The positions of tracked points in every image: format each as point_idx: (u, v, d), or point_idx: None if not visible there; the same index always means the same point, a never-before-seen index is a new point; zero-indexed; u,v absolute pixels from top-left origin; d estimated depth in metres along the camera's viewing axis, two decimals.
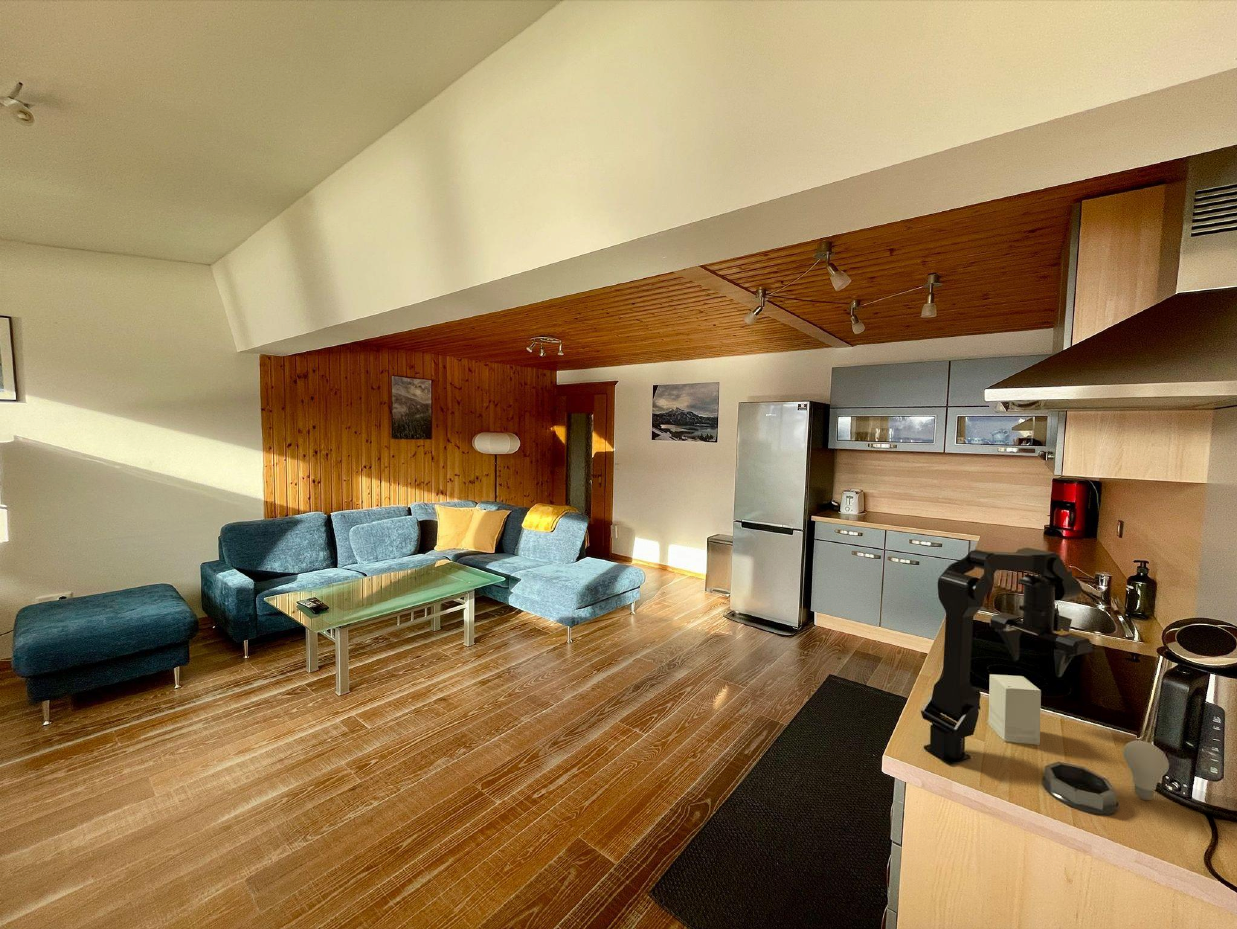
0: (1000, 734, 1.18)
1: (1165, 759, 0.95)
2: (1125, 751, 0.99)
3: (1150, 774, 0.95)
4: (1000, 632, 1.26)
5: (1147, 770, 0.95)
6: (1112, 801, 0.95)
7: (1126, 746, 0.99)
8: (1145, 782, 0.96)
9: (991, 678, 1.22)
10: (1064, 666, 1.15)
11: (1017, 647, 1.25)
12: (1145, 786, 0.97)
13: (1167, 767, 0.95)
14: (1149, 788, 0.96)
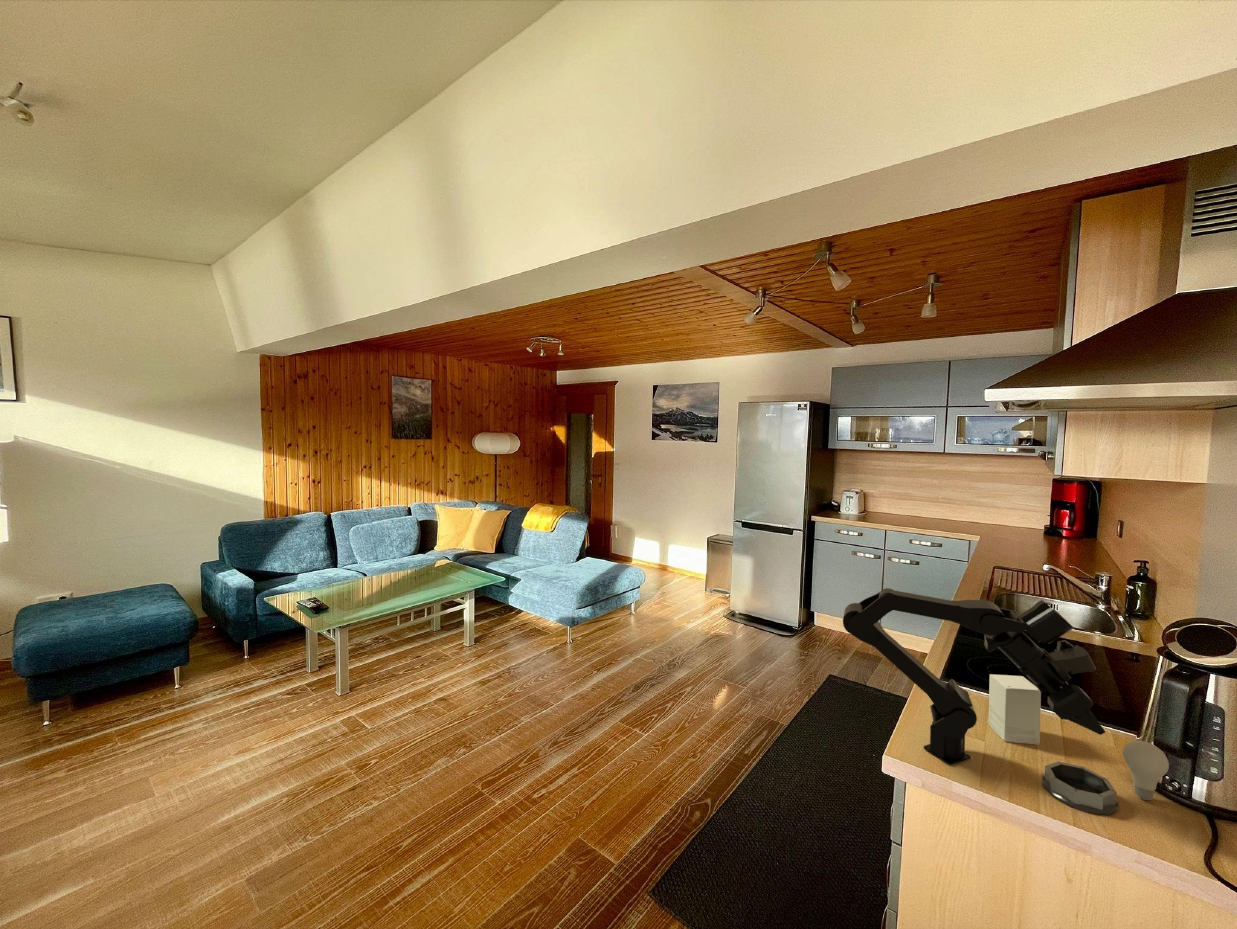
0: (1000, 734, 1.18)
1: (1165, 759, 0.95)
2: (1125, 751, 0.99)
3: (1150, 774, 0.95)
4: None
5: (1146, 770, 0.95)
6: (1112, 801, 0.95)
7: (1126, 746, 0.99)
8: (1145, 782, 0.96)
9: (991, 678, 1.22)
10: (1092, 723, 0.97)
11: None
12: (1145, 786, 0.97)
13: (1167, 767, 0.95)
14: (1149, 788, 0.96)
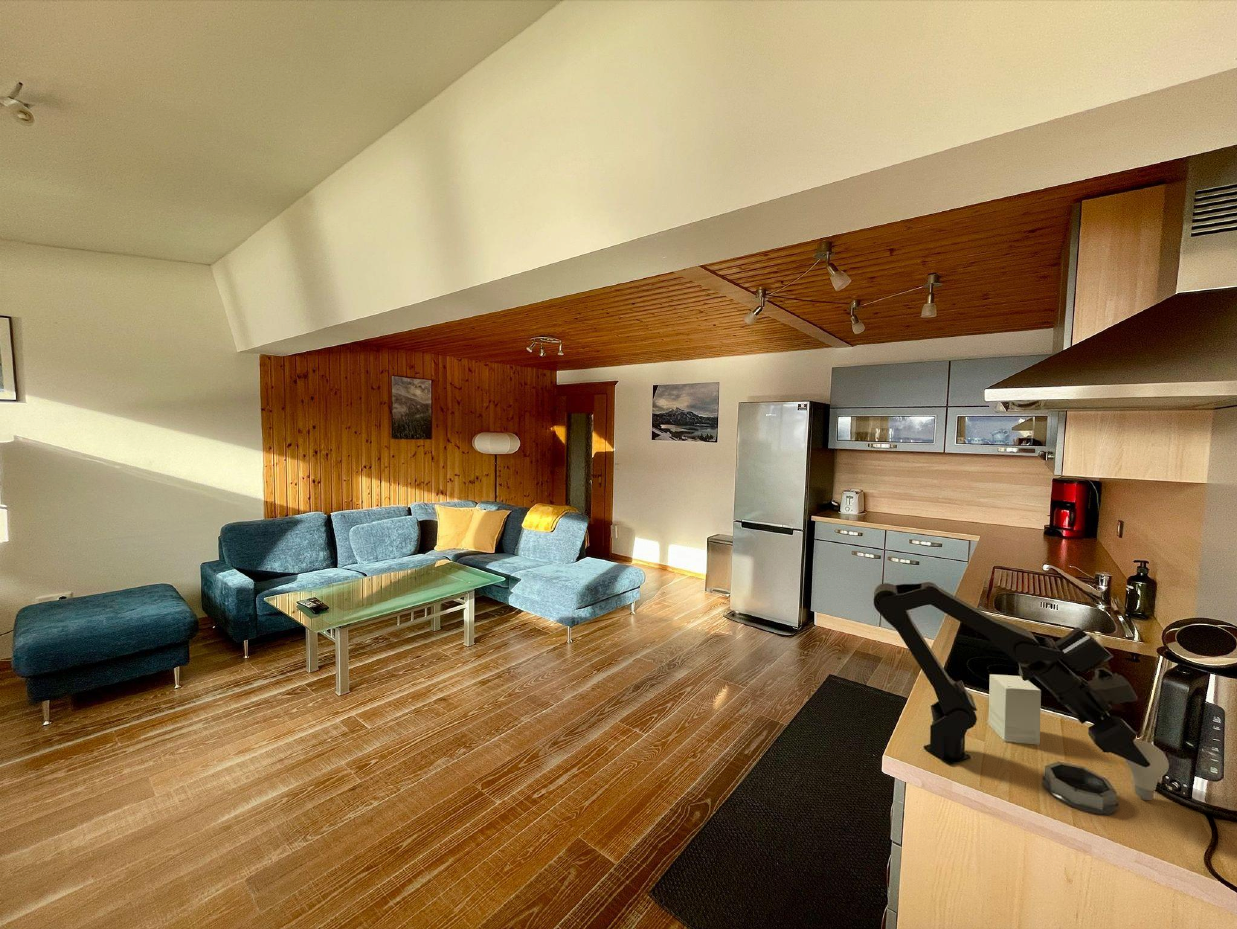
0: (1000, 734, 1.18)
1: (1165, 759, 0.95)
2: None
3: (1150, 774, 0.95)
4: None
5: (1146, 770, 0.95)
6: (1112, 801, 0.95)
7: None
8: (1145, 782, 0.96)
9: (991, 678, 1.22)
10: (1136, 755, 0.94)
11: None
12: (1145, 786, 0.97)
13: (1167, 767, 0.95)
14: (1149, 788, 0.96)
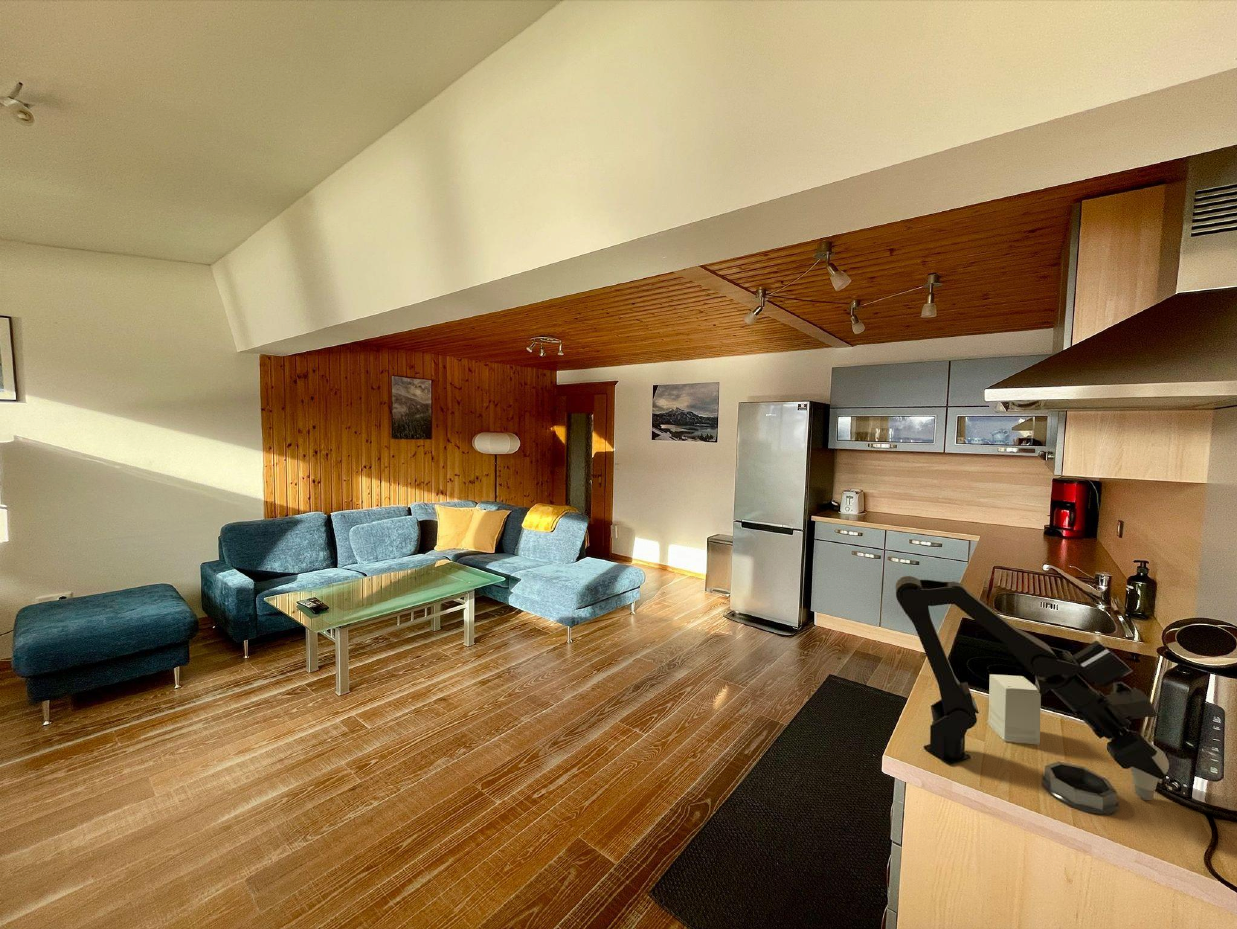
0: (1000, 734, 1.18)
1: (1165, 759, 0.95)
2: None
3: None
4: None
5: None
6: (1112, 801, 0.95)
7: None
8: (1145, 782, 0.96)
9: (991, 678, 1.22)
10: (1152, 767, 0.94)
11: None
12: (1145, 786, 0.97)
13: (1167, 767, 0.95)
14: (1149, 788, 0.96)
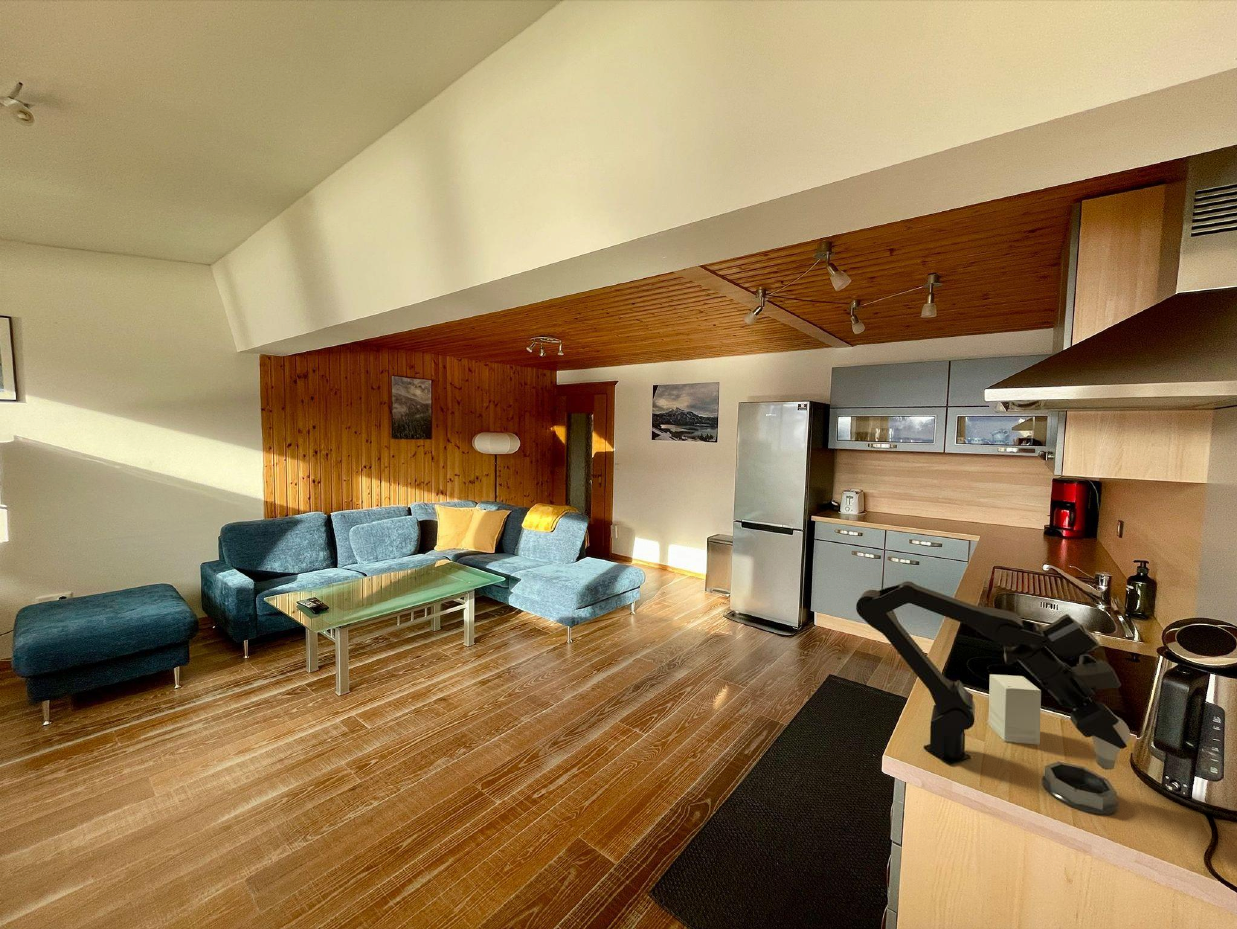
0: (1000, 734, 1.18)
1: (1127, 729, 0.96)
2: None
3: (1111, 744, 0.96)
4: None
5: None
6: (1112, 801, 0.95)
7: None
8: (1107, 752, 0.97)
9: (991, 678, 1.22)
10: (1113, 737, 0.95)
11: None
12: (1106, 756, 0.97)
13: (1128, 737, 0.96)
14: (1110, 757, 0.97)
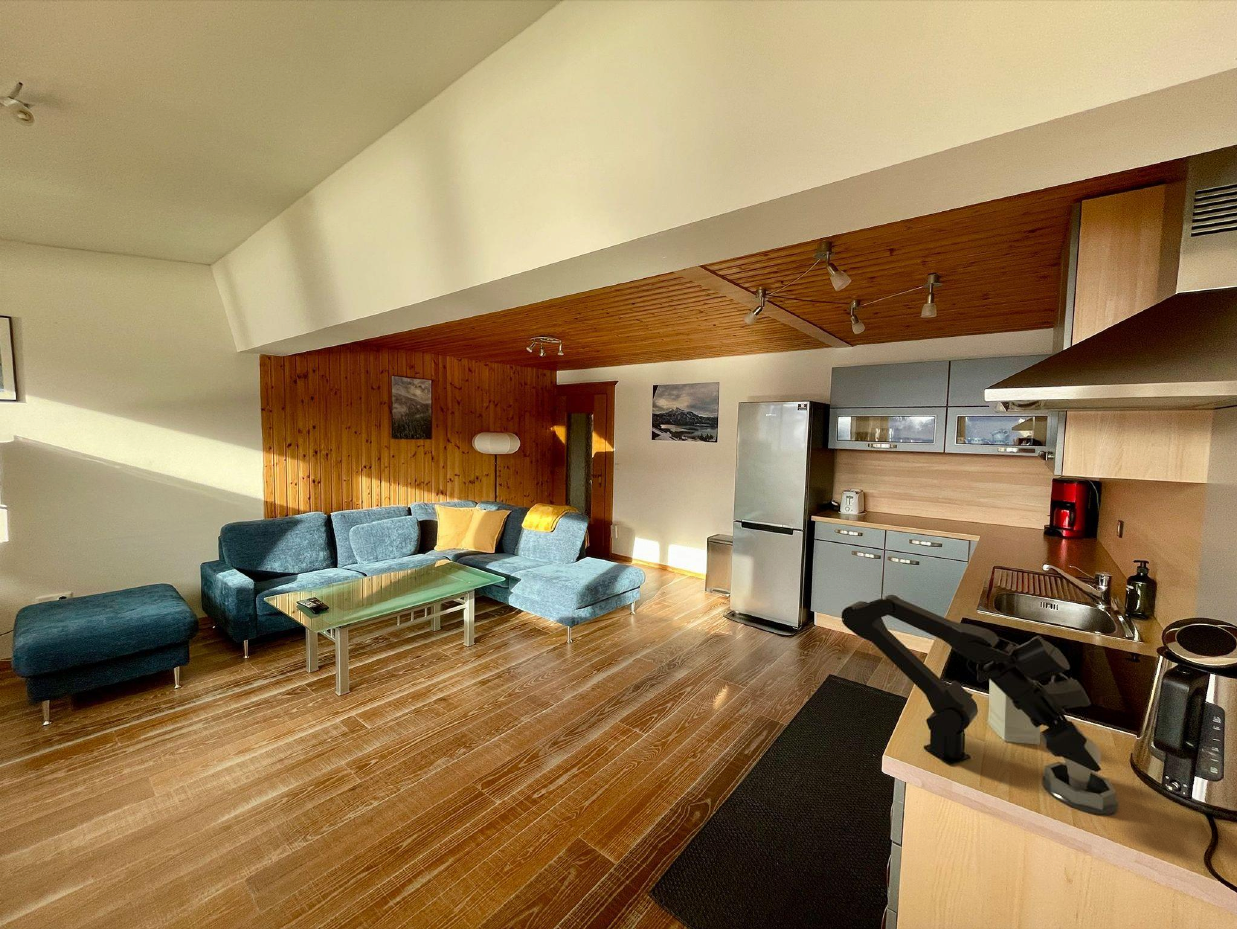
0: (1000, 734, 1.18)
1: (1097, 751, 0.97)
2: None
3: (1082, 766, 0.97)
4: None
5: None
6: (1112, 801, 0.95)
7: None
8: (1078, 774, 0.98)
9: None
10: (1087, 760, 0.94)
11: None
12: (1078, 778, 0.98)
13: (1099, 759, 0.96)
14: (1082, 779, 0.98)
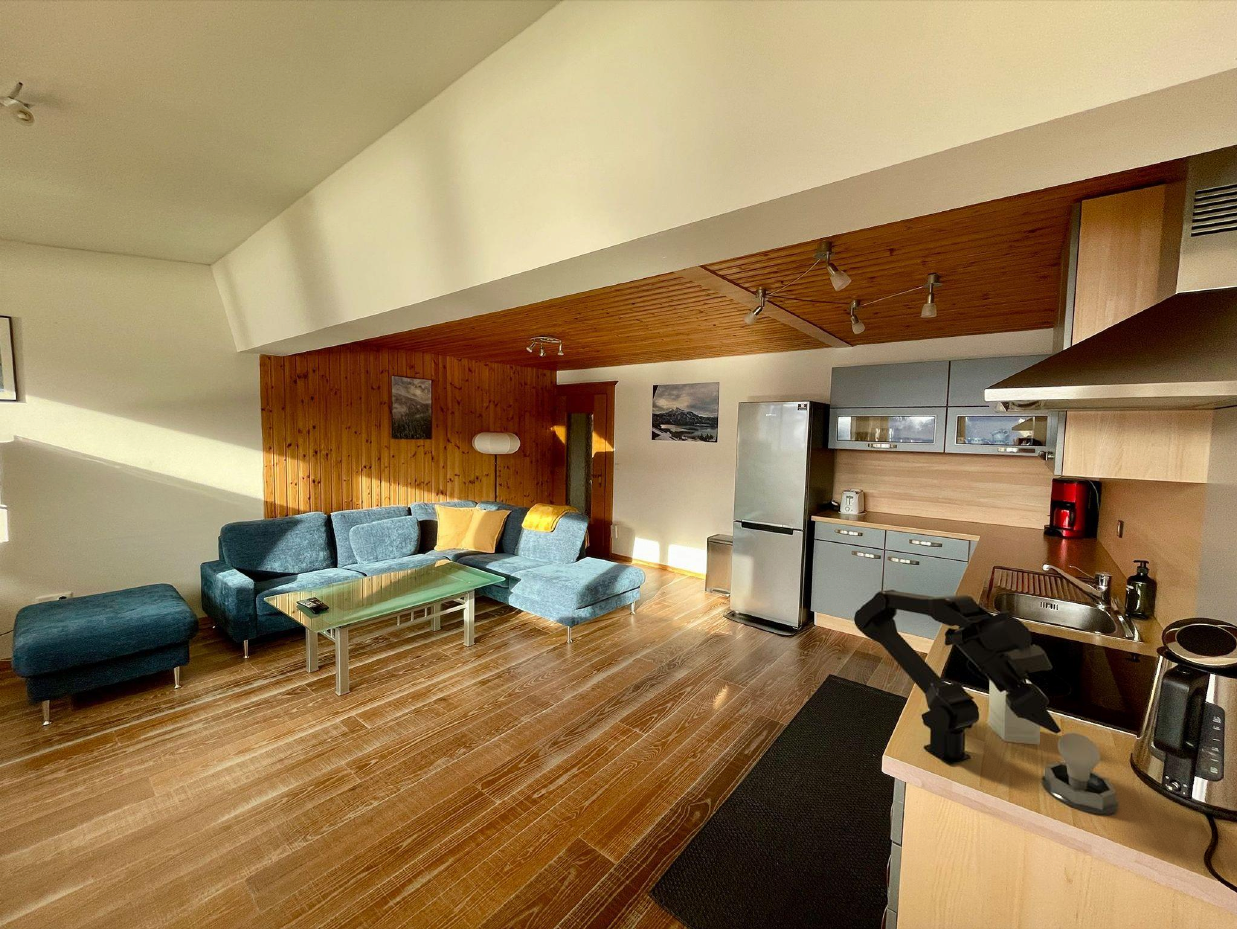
0: (1000, 734, 1.18)
1: (1096, 751, 0.97)
2: (1059, 743, 1.00)
3: (1082, 766, 0.97)
4: None
5: (1078, 761, 0.97)
6: (1112, 801, 0.95)
7: (1061, 738, 1.01)
8: (1078, 773, 0.98)
9: None
10: (1048, 721, 0.97)
11: None
12: (1078, 777, 0.98)
13: (1098, 758, 0.97)
14: (1082, 779, 0.98)
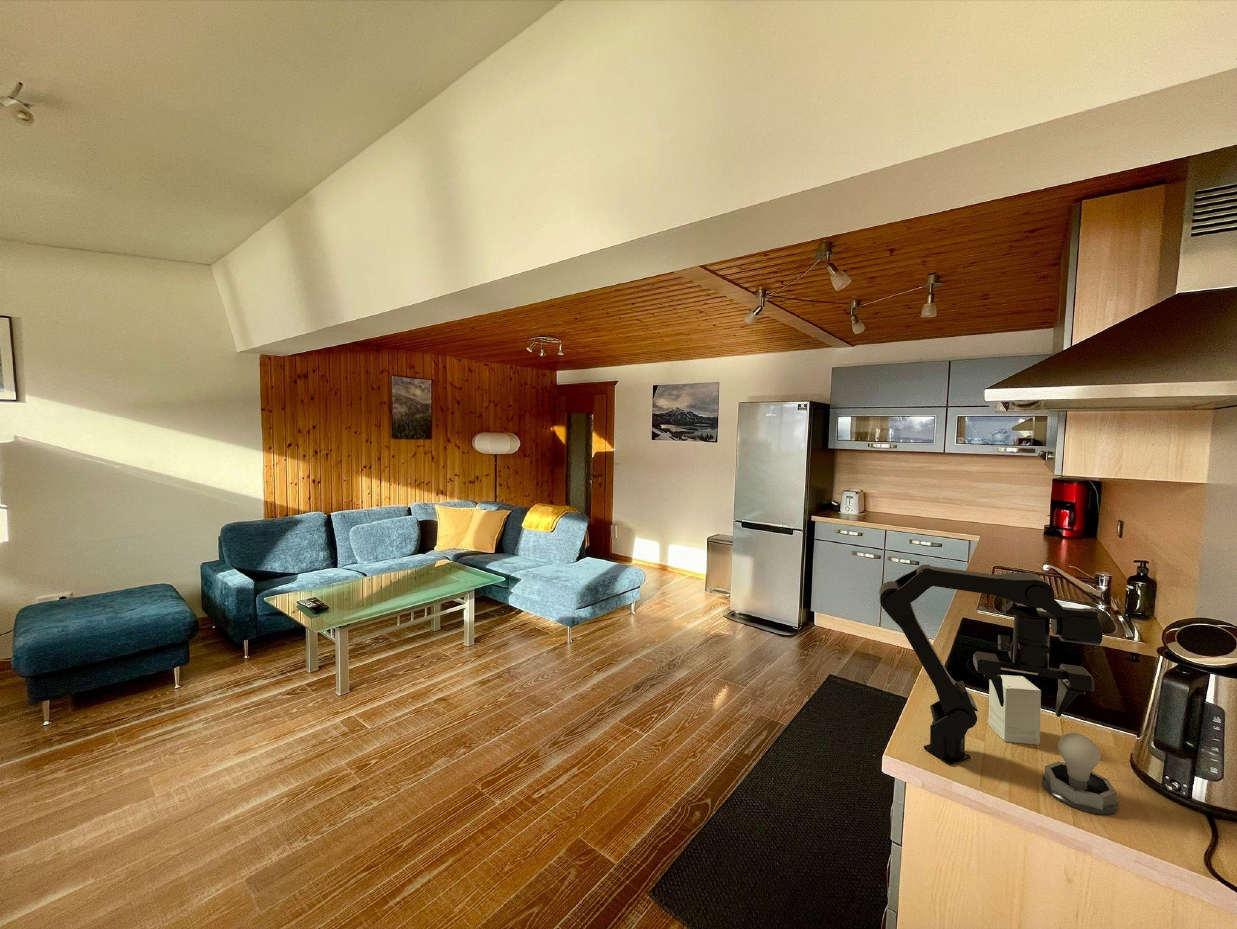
0: (1000, 734, 1.18)
1: (1096, 751, 0.97)
2: (1060, 743, 1.00)
3: (1082, 765, 0.97)
4: (994, 679, 1.06)
5: (1079, 761, 0.97)
6: (1112, 801, 0.95)
7: (1061, 738, 1.01)
8: (1078, 773, 0.98)
9: None
10: None
11: None
12: (1078, 777, 0.98)
13: (1098, 758, 0.97)
14: (1082, 779, 0.98)
